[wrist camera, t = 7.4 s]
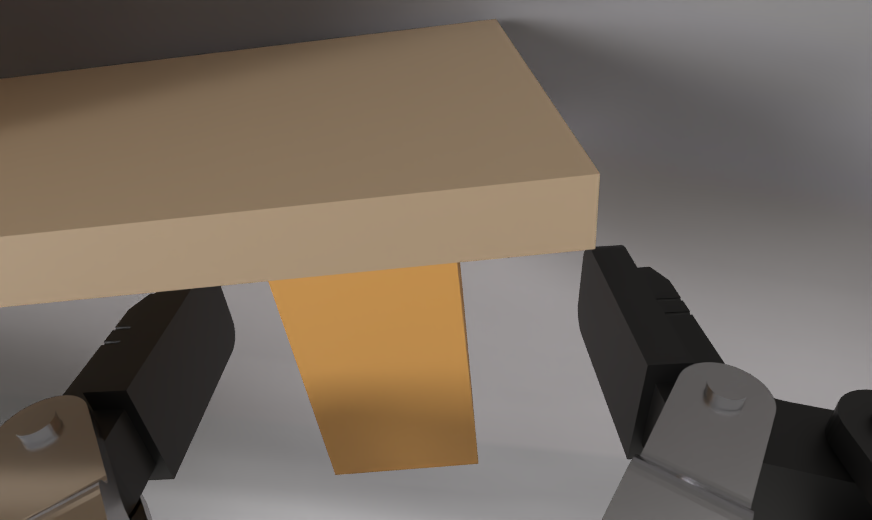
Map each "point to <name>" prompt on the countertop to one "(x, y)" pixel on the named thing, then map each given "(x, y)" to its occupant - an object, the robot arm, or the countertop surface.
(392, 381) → the flap
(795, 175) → the countertop surface
